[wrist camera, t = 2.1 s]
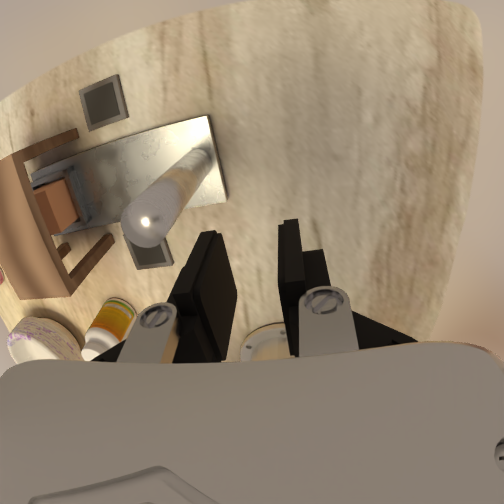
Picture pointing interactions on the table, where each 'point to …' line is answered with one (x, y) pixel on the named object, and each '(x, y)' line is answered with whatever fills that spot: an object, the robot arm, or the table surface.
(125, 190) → the metal rod stand
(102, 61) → the table surface
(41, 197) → the block
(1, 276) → the pill bottle
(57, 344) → the paper bowls
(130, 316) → the supplement bottle
